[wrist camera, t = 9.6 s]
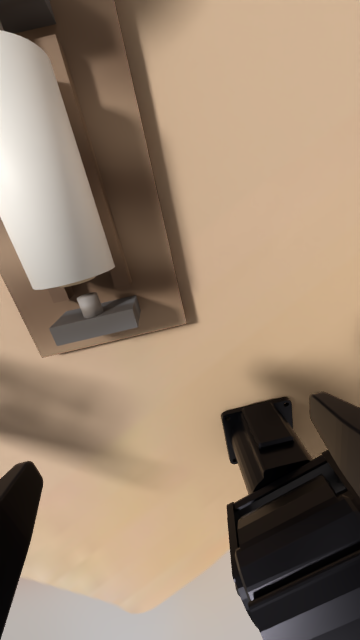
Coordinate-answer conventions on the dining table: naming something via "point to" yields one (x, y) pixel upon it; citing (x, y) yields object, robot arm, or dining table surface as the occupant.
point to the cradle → (97, 185)
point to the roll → (44, 175)
